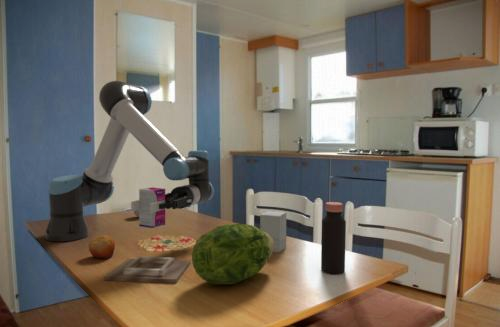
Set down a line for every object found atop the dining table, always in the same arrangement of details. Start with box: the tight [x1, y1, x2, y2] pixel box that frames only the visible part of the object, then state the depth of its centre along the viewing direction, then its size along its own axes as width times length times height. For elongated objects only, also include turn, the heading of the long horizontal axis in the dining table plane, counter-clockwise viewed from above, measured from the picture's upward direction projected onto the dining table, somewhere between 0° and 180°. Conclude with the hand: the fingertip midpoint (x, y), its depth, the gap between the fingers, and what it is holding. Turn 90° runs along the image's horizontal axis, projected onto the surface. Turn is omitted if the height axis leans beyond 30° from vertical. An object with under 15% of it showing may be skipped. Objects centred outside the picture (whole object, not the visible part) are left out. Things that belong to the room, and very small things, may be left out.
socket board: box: [103, 256, 191, 284], centre depth 114 cm, size 20×16×2 cm
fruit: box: [88, 234, 116, 259], centre depth 128 cm, size 8×8×8 cm
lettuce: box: [191, 223, 274, 285], centre depth 108 cm, size 15×27×16 cm, turn 137°
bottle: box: [320, 201, 347, 275], centre depth 115 cm, size 7×7×20 cm
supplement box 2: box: [259, 210, 287, 253], centre depth 138 cm, size 7×7×13 cm
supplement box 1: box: [138, 186, 166, 229], centre depth 121 cm, size 6×6×12 cm
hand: (141, 207), depth 116 cm, fingers closed on supplement box 1, 6 cm apart
